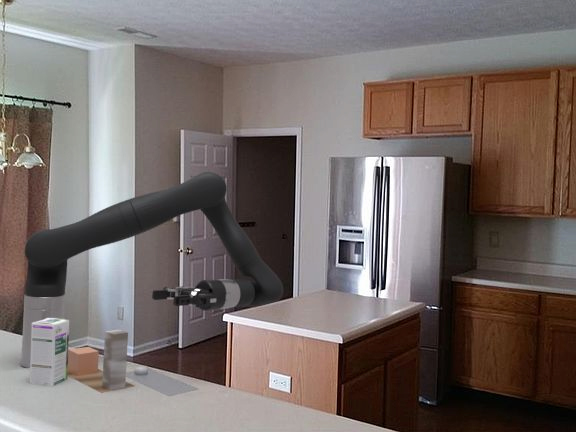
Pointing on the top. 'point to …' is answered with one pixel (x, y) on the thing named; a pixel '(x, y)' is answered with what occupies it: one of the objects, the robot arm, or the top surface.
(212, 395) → the top surface
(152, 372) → the grey flat slab
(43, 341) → the syrup box
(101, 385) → the base with upright panel
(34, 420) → the top surface
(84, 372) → the terracotta block
